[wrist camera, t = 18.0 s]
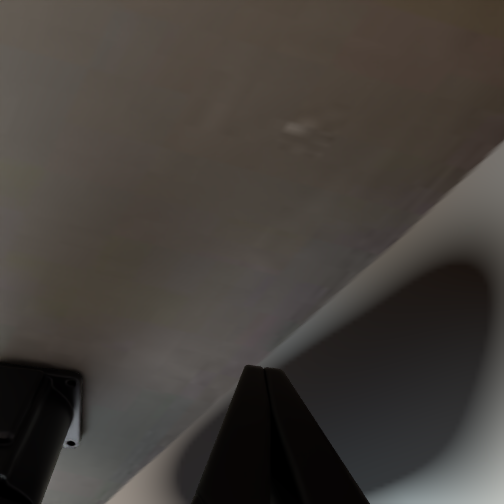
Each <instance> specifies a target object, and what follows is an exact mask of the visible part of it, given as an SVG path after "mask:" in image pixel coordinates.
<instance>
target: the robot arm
mask: <svg viewBox="0 0 504 504" xmlns="http://www.w3.org/2000/svg"><path fill="white" fill-rule="evenodd" d="M82 382H83V379H82V376H81V375H80V374H78V373H76V372H71V371H62V370H54V369H45V368H37V367H28V366H20V365H11V364H3V363H0V504H41V502H42V500H43V497H44V494H45V492H46V489H47V486H48V484H49V481H50V478H51V476H52V473H53V470H54V468H55V465H56V462H57V460H58V457H59V454H60V452H61V449H62V447H63V448H77V447H78V446H79V444H80V441H81V426H82ZM191 504H370V503H369V502H368V500H367V499H366V497H365V495H364V494H363V492H362V491H361V489H360V488H359V486H358V485H357V483H356V482H355V480H354V479H353V477H352V476H351V474H350V473H349V471H348V470H347V468H346V466H345V465H344V463H343V462H342V460H341V459H340V457H339V456H338V454H337V453H336V451H335V450H334V448H333V447H332V445H331V444H330V442H329V440H328V439H327V437H326V436H325V435H324V433H323V431H322V430H321V428H320V427H319V425H318V424H317V422H316V421H315V419H314V417H313V416H312V415H311V413H310V412H309V410H308V408H307V407H306V405H305V404H304V402H303V401H302V399H301V398H300V396H299V395H298V393H297V392H296V390H295V388H294V387H293V385H292V384H291V382H290V381H289V379H288V378H287V376H286V375H285V373H284V372H283V371H282V370H281V369H276V368H268V367H266V368H264V369H263V368H262V367H260V366H253V365H246V366H245V367H244V370H243V372H242V375H241V377H240V380H239V382H238V385H237V388H236V390H235V393H234V395H233V398H232V400H231V403H230V406H229V408H228V411H227V413H226V416H225V419H224V421H223V424H222V426H221V429H220V431H219V434H218V436H217V439H216V442H215V444H214V447H213V449H212V452H211V454H210V457H209V460H208V462H207V465H206V467H205V470H204V472H203V475H202V478H201V480H200V483H199V485H198V488H197V490H196V494H195V496H194V498H193V500H192V503H191Z"/></svg>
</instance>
